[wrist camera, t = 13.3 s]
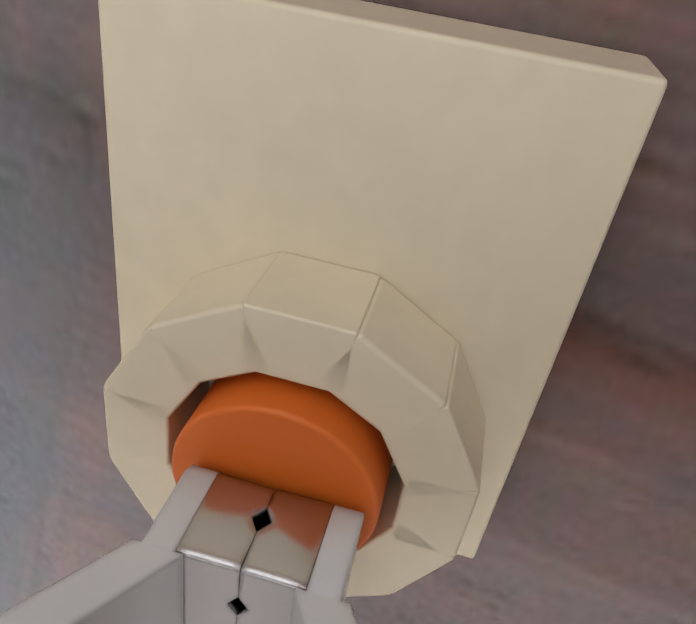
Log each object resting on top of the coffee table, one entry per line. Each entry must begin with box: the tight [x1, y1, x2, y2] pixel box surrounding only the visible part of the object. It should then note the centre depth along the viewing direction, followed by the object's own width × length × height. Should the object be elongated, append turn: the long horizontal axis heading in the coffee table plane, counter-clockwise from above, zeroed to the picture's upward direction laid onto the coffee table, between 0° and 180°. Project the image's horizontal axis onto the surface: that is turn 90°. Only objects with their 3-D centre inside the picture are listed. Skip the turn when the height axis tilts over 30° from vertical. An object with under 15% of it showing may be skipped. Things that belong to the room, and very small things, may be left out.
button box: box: [98, 0, 667, 597], centre depth 11 cm, size 10×8×4 cm
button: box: [172, 372, 393, 549], centre depth 11 cm, size 4×4×2 cm
